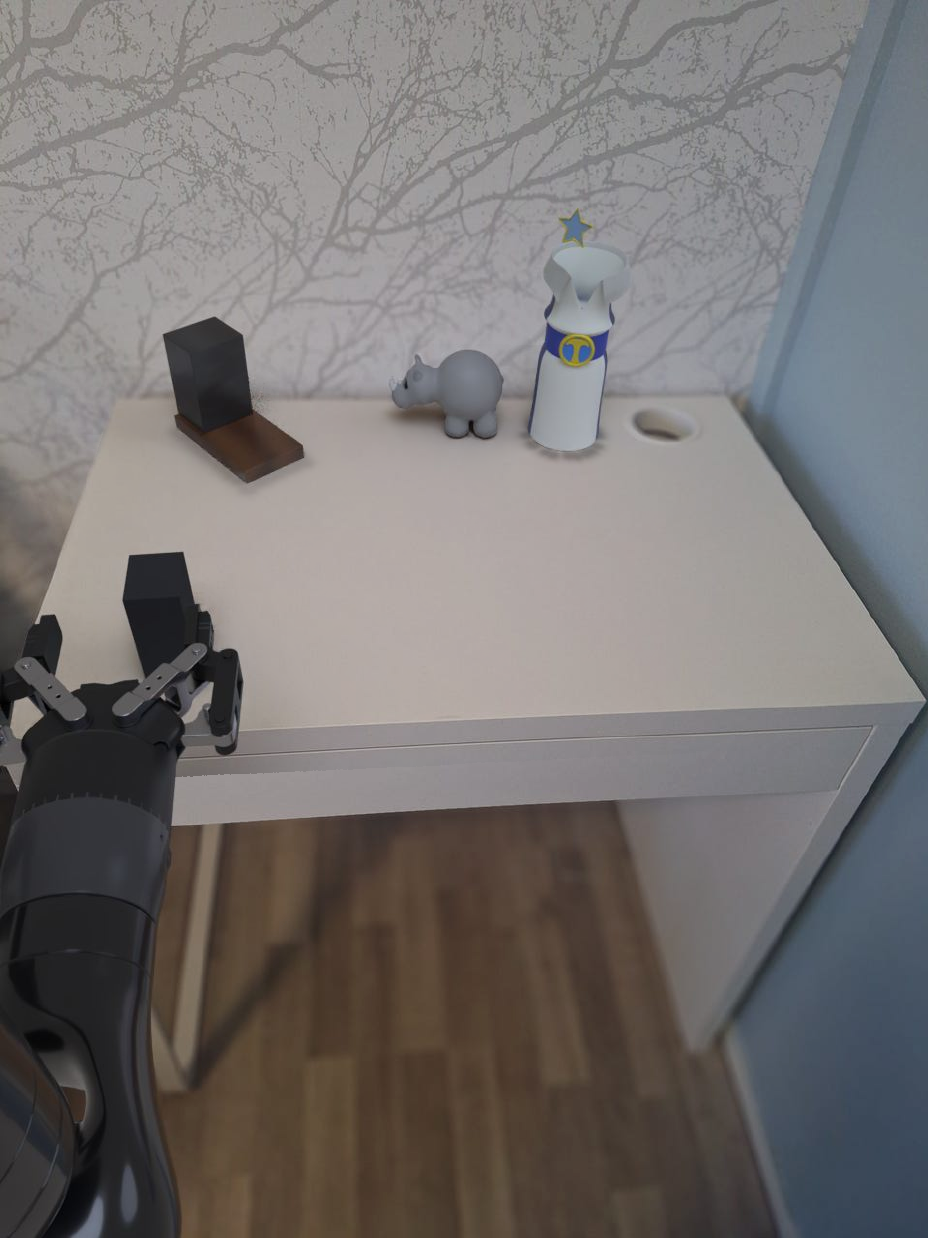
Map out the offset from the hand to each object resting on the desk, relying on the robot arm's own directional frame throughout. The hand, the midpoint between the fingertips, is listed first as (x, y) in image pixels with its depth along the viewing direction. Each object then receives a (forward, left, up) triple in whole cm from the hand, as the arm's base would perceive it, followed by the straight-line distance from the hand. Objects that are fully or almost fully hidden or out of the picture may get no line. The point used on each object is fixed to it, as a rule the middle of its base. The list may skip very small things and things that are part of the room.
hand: (124, 618), depth 57 cm
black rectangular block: (-4, +10, -15) cm, 18 cm away
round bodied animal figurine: (+10, +49, -15) cm, 52 cm away
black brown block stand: (-10, +40, -15) cm, 43 cm away
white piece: (+23, +51, -15) cm, 58 cm away
